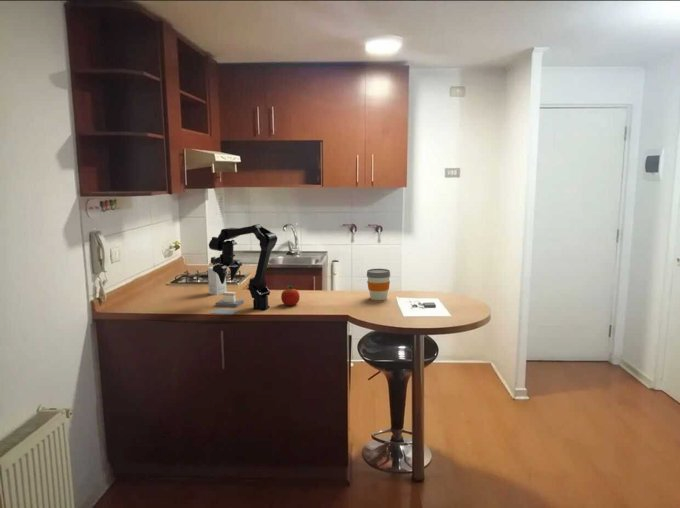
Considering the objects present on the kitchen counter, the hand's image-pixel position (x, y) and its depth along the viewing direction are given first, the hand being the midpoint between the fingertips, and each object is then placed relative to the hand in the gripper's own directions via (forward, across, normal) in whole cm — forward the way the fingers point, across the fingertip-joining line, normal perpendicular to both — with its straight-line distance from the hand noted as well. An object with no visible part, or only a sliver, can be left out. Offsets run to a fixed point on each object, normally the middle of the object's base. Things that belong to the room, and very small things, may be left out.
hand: (227, 281), depth 261 cm
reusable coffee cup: (+6, -34, +73) cm, 80 cm away
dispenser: (+12, +2, +3) cm, 12 cm away
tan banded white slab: (+11, +2, +3) cm, 12 cm away
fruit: (+10, -8, +33) cm, 35 cm away
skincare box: (+14, -20, -18) cm, 30 cm away
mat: (+11, +14, +8) cm, 20 cm away
